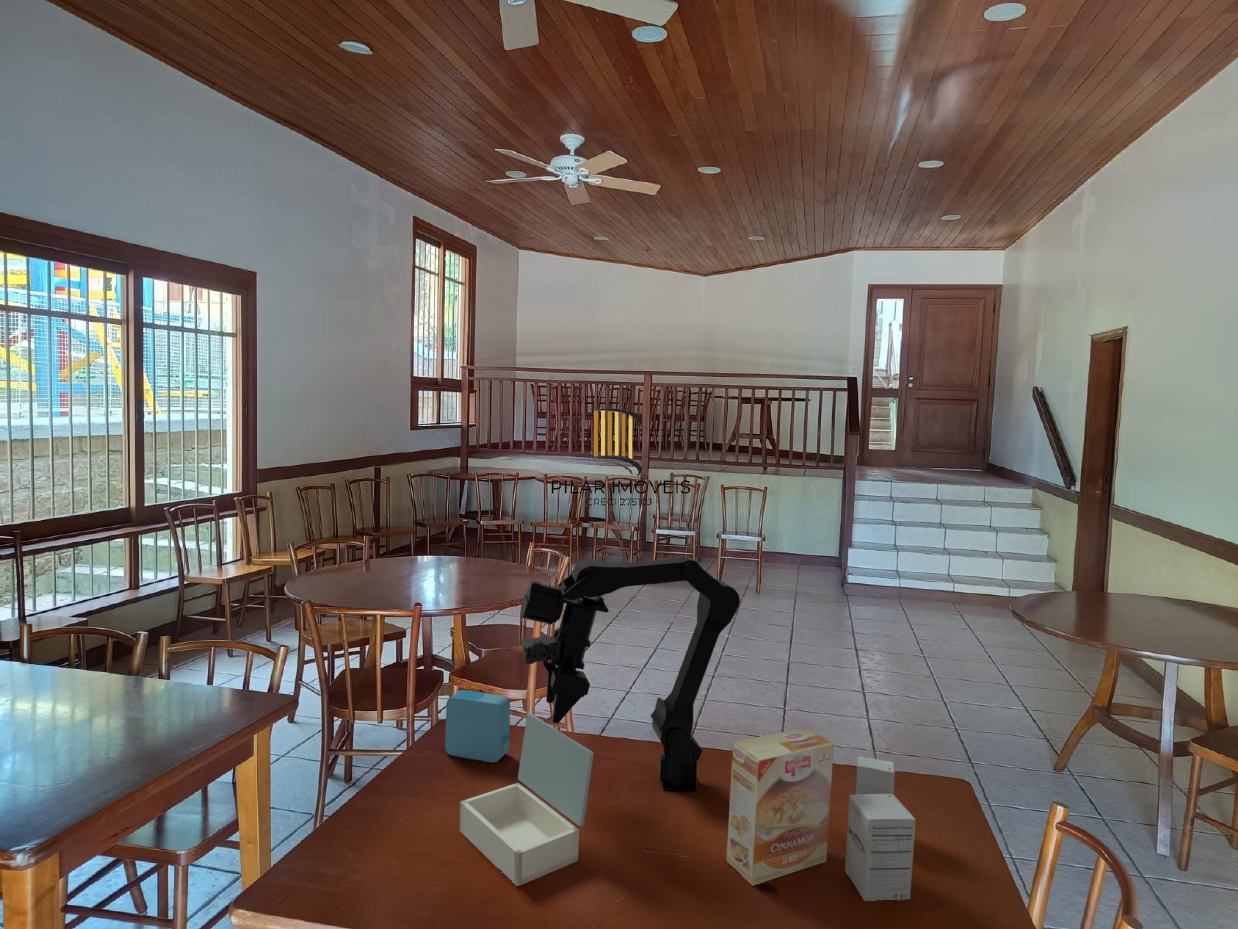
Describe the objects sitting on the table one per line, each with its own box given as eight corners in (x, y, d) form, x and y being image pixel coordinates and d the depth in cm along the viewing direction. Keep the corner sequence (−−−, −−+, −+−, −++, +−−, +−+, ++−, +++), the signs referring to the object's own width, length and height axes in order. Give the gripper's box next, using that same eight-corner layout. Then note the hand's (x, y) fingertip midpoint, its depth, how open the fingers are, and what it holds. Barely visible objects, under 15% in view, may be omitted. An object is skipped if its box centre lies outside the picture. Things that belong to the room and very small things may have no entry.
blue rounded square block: (509, 754, 152) (510, 696, 151) (499, 764, 148) (501, 704, 147) (455, 745, 156) (456, 688, 155) (444, 754, 151) (445, 696, 150)
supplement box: (843, 871, 117) (848, 793, 116) (889, 871, 118) (894, 792, 117) (862, 903, 110) (867, 819, 109) (911, 901, 110) (917, 818, 109)
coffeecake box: (752, 887, 112) (759, 760, 111) (724, 861, 119) (730, 740, 117) (829, 863, 119) (836, 742, 118) (798, 839, 125) (805, 725, 124)
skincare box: (890, 829, 130) (895, 761, 129) (891, 842, 126) (895, 772, 125) (853, 822, 132) (857, 755, 131) (852, 834, 127) (857, 766, 127)
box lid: (517, 779, 131) (520, 778, 131) (580, 826, 117) (583, 826, 117) (527, 713, 131) (530, 713, 132) (590, 753, 117) (593, 752, 117)
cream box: (517, 810, 131) (518, 782, 131) (577, 860, 117) (579, 829, 117) (459, 831, 124) (460, 801, 124) (516, 887, 110) (517, 854, 110)
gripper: (527, 606, 144) (505, 685, 144) (537, 635, 126) (512, 725, 126) (582, 619, 146) (561, 696, 147) (600, 649, 128) (576, 737, 128)
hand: (552, 712), depth 137 cm, fingers open, 9 cm apart
